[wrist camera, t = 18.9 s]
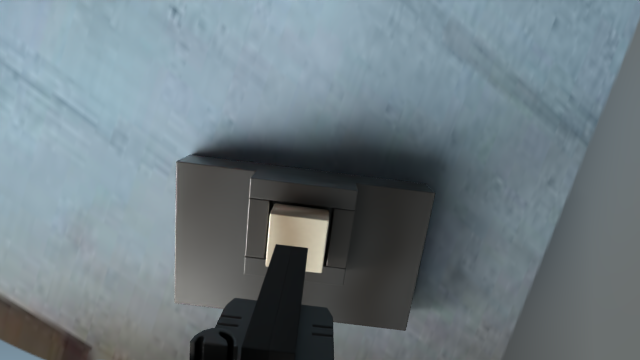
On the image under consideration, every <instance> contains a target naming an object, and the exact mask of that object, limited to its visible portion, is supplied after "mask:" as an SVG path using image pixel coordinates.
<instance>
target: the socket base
mask: <svg viewBox="0 0 640 360" xmlns="http://www.w3.org/2000/svg"><path fill="white" fill-rule="evenodd" d="M434 197H435V192H434V191H433V190H432V189H431V188H430V187H429V186H428V185H427V184H425V183H417V182H408V181H400V180H392V179H384V178H376V177H368V176H359V175H351V174H343V173H335V172H327V171H319V170H310V169H302V168H294V167H286V166H278V165H270V164H261V163H253V162H245V161H237V160H229V159H221V158H212V157H204V156H196V155H189V156H187V157H185V158H182V159H180V160H178V161H177V162H176V222H175V303H178V304H187V305H195V306H203V307H212V308H220V309H224V308H225V305H227V304H228V303H229V302H230V301H231V300H233V299H234V298H242V299H250V300H257V299H258V296H259V293H260V290H261V287H262V284H263V281H264V278H265V275H266V272H267V269H268V267H266V265H265V264H266V252H267V241H268V230H269V218H270V213H271V211H272V208H273V206H274V204H275V203H277V204H285V205H293V206H301V207H310V208H318V209H326V210H329V226H328V233H327V241H326V248H325V255H324V263H323V270H322V273H315V272H307V271H305V279H304V287H303V295H302V304H301V305H309V306H318V307H326V308H328V310H329V311H330V313H331V315H332V316H333V322H337V323H346V324H354V325H362V326H371V327H379V328H387V329H396V330H404V331H405V330H406V327H407V322H408V318H409V313H410V308H411V304H412V299H413V294H414V290H415V285H416V281H417V276H418V271H419V267H420V262H421V257H422V253H423V248H424V243H425V239H426V234H427V230H428V225H429V220H430V216H431V211H432V206H433V202H434Z"/></svg>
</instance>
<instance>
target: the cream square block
mask: <svg viewBox="0 0 640 360" xmlns="http://www.w3.org/2000/svg"><path fill="white" fill-rule="evenodd" d="M328 226H329V210H326V209H318V208H310V207H301V206H293V205H285V204H277V203H275V204H274V206H273V208H272V211H271V213H270V218H269V230H268V241H267V252H266V264H265V265H266V267H268V266H269V263H270V260H271V257H272V254H273V251H274V248H275V245H276V244H280V245H288V246H296V247H305V248H308V254H307V263H306V271H307V272H315V273H322V270H323V263H324V255H325V248H326V241H327V233H328Z"/></svg>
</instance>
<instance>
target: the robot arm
mask: <svg viewBox="0 0 640 360" xmlns="http://www.w3.org/2000/svg"><path fill="white" fill-rule="evenodd" d="M307 254H308V248H305V247H296V246H288V245H280V244H276V245H275V248H274V251H273V254H272V257H271V260H270V263H269V266H268V269H267V272H266V275H265V278H264V281H263V284H262V287H261V290H260V293H259V296H258V299H257V300H250V299H242V298H234V299H233V300H231V301H230V302H229V303H228V304H227V305H225V308H224V310H223V312H222V314H221V317H220V318H219V320H218V322H217V325H216V327H215V328H211V329H207V330H204V331H202V332H200V333H198V334H197V335H195V336H194V338H193V339H192V340H191V341H190V360H334V342H333V316H332V315H331V313H330V311H329V310H328V308H326V307H318V306H309V305H301V304H302V295H303V287H304V279H305V271H306V263H307Z"/></svg>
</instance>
